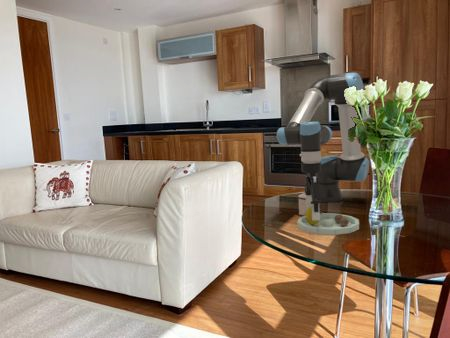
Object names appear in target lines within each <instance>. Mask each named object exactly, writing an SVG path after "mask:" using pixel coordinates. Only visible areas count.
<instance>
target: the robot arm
mask: <svg viewBox="0 0 450 338" xmlns="http://www.w3.org/2000/svg"><path fill="white" fill-rule="evenodd" d="M352 86H355V87H356V89H357V90H360V89H365V88H364V83H363V80H362V77H361V76H360V74H359V73H357V72H346V73H339V74H337V73H336V74H332V75H331V74H330V75H325V76H322V77H320V78H318V79H317V80H315V81H313V83H311V85H309V87H308V88H307V89H306V90H305V91H304V97H303V99H302V100H301V102H300V104H299V106H298V108H297V109H296V111H295V112H294V114H293V116H292V117H291V119H290V121H289V122H288V124H287V125H286V126H283V127H279V128H278V129H277V131H276V139H277V142H278V144H280V145H283V146H300V153H299V157H300V161H301V164H300V166H301V172H302V174H305V183H304V192H305V194H306V195H307V196H306V211H307V209H308V208H310V207H312V220H320V213H321V212H320V210H321V209H320V204H321V203H335V202H341V201H342V200H343V194H342V190H341V187H340V184H339V181H344V182H364V181H366V179H367V176H368V173H369V169H370V160H369V158H367V157H366V156H365V153H363V152H362V150H361V149H362V147H361V143H360V144H359V143H358V141H357V139H355V140H354V141H353V142H350V141H349V140H348V130H349V129H350V128H352V127H354V126H355V123H354V122H353V121H352V118H351V117H356V118H358V119H359V114H358V115H357V112H356V110H355V108H354V107H352V106H348V105H347V103H346V100H345V97H344V90H345V89H346V88H349V87H352ZM325 101H334V105H335V106H337V107H338V117H339V118H338V119H339V128H340V129H339V130H340V136H341V137H340V139H341V148H342V154H340V156H338V154H336V155H335V154H334V155H326V156H322V149H321V148H322V146H321V145H325V144H328V143H329V142H330V141H331V140H332V138H333V131H332V129H331V128H330V127H329V126H327V125H321V123H320V121H311V119H312V118H313V116H314V115H315V112H316V110H317V109H318V107H319V106H320V105H322V104H323V103H324V102H325Z"/></svg>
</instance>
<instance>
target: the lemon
mask: <svg viewBox="0 0 450 338" xmlns="http://www.w3.org/2000/svg"><path fill="white" fill-rule="evenodd" d="M304 216H305V217H306V221H307V222H308V223H309V224H311V225H312V226H314V225H315V224H317V223H318V222H319V220H312V207H310V208H308V209H307V211H306V215H304Z"/></svg>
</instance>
